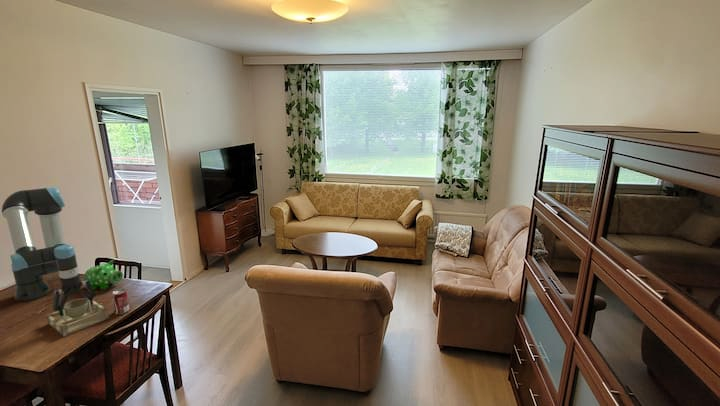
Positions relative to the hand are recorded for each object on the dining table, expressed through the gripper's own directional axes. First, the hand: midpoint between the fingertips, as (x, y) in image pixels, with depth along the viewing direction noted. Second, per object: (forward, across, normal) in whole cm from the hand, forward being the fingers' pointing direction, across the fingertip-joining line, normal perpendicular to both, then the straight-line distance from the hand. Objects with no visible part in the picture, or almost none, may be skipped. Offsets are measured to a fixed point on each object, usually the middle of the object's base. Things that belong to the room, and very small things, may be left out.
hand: (78, 315), depth 175 cm
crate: (+3, 0, 0) cm, 3 cm away
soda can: (+3, +16, -9) cm, 19 cm away
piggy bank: (+3, +24, +31) cm, 39 cm away
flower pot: (0, 0, 0) cm, 1 cm away
